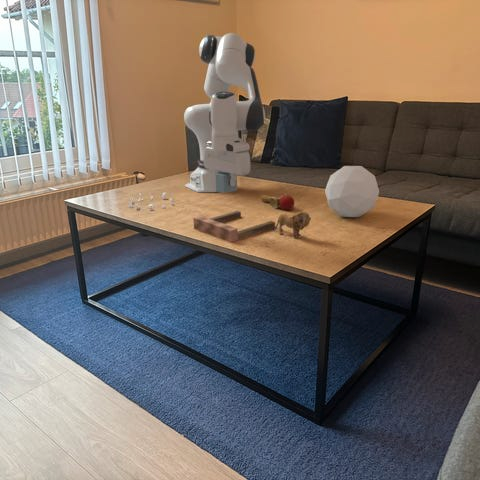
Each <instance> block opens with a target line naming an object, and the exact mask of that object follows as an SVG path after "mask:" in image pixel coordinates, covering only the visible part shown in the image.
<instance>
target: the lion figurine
mask: <svg viewBox="0 0 480 480" xmlns="http://www.w3.org/2000/svg"><path fill="white" fill-rule="evenodd" d="M311 217H312V216H310V214H309V213H308V212H307V211H302V212H299V213H297V214H294V215H293V216H289V215H287V214H286V213H285V214H284V213H281V214H280V215H279V216H278V219H277V222H276V224H275V227H274V228H272V229H271V230H276V229H277V228H278V232H279V233H278V234H279V235H282V236H283V235H284V232H282V231H283V228H282V227H283V226H286V227H287V228H289V229H292V233H293V234H292V235H293V239H294V240H297V239H298V237H301V235H302V234H300V231H303V230H304V229H305V228H307V227H308V226H309V225H310V222H311V221H312V218H311Z"/></svg>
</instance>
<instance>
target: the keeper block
mask: <svg viewBox="0 0 480 480" xmlns="http://www.w3.org/2000/svg"><path fill="white" fill-rule="evenodd" d="M230 179H231V176H230V173H226V172H223V173H218V174H216V192H215V193H220V194H226V193H227V194H228V193H231V192H232V193H233V192H236V191H238V177H237V178H236V180H235V186H229V185H228V184H229V183H228V181H230Z"/></svg>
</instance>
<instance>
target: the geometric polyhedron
mask: <svg viewBox="0 0 480 480" xmlns="http://www.w3.org/2000/svg"><path fill="white" fill-rule="evenodd" d="M324 193H325V198H326V201H327V204H328V208H329V209H331V210H333V211H334V212H335V213H337V214H338V215H339V216H341V217H342V218H361V216H363V215H364V214H367V213H368V212H369V211H371V210H372V209H374V207H375V205H376V203H377V200H378V197H379V194H380V190H379V186H378V182H377V179H376V176H375V175H374V174H373V173H372V172H370V171H369V170H368V169H366V168H365V167H364V166H362V165H344V166H342V167H341V168H340V169H338V170H337V171H335V172H333V173H332V174H330V176H329V179H328V181H327V184H326V187H325V190H324Z"/></svg>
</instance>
